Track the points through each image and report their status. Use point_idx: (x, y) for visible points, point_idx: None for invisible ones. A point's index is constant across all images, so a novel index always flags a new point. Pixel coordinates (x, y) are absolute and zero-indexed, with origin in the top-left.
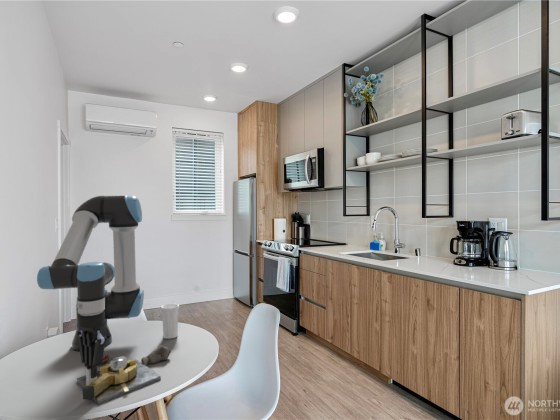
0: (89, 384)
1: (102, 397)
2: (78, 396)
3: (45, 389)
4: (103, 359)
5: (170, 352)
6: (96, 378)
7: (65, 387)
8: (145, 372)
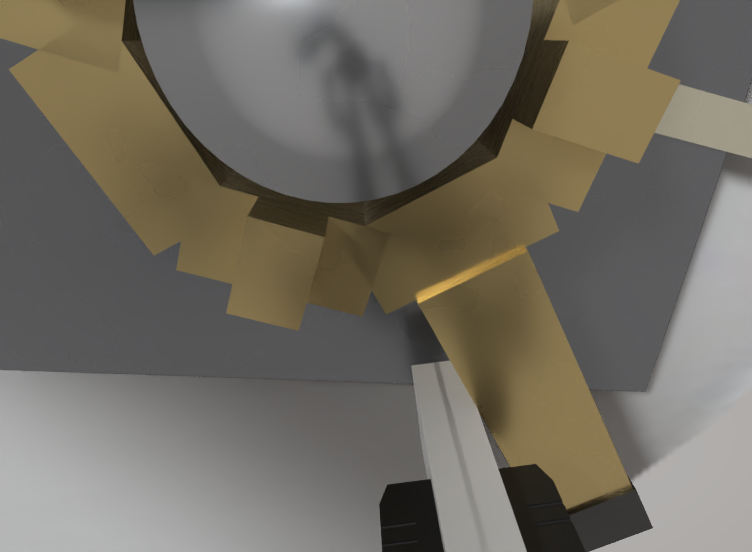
0: None
1: (634, 350)
2: (345, 419)
3: (5, 532)
4: None
5: None
6: (480, 423)
7: (78, 437)
8: None
